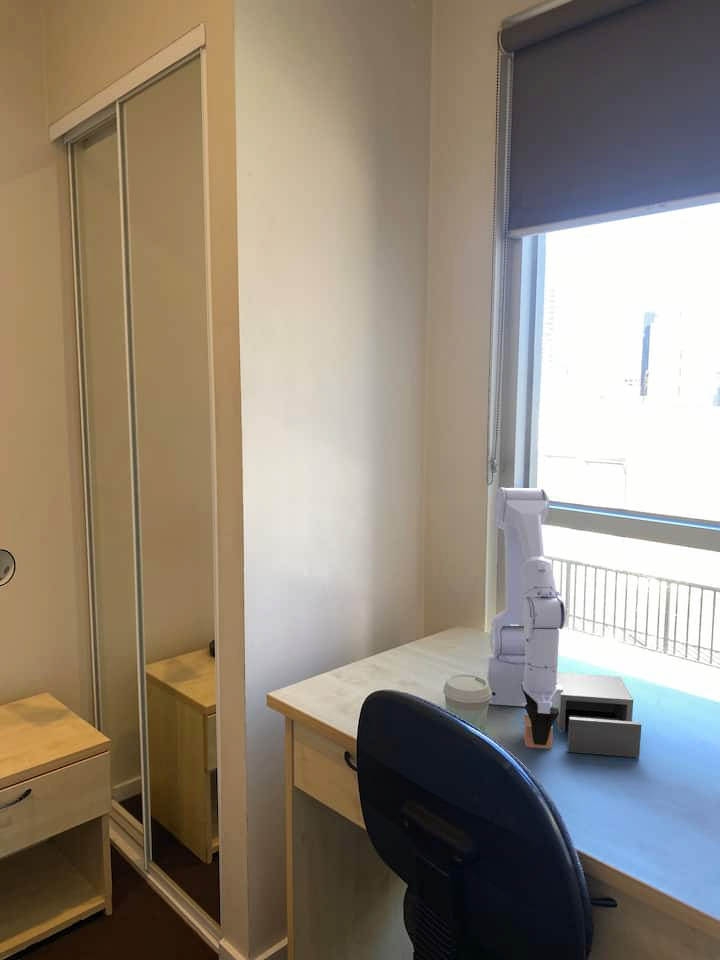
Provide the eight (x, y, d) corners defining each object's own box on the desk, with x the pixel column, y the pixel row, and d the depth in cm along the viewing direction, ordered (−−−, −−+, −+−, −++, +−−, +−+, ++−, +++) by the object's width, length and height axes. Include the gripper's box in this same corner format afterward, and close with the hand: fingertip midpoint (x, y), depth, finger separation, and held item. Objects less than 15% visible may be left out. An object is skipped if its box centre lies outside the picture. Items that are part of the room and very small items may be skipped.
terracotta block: (525, 747, 129) (526, 726, 128) (523, 735, 133) (524, 715, 133) (551, 749, 128) (552, 728, 128) (548, 737, 133) (549, 716, 132)
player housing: (559, 730, 135) (560, 694, 134) (551, 705, 146) (553, 672, 145) (630, 736, 133) (633, 699, 132) (618, 710, 144) (620, 676, 143)
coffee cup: (478, 763, 123) (480, 696, 121) (433, 749, 127) (435, 684, 126) (496, 743, 130) (499, 679, 129) (453, 730, 135) (455, 669, 133)
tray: (568, 751, 127) (570, 719, 126) (560, 723, 138) (561, 693, 137) (639, 757, 125) (641, 724, 124) (625, 728, 136) (627, 698, 135)
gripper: (570, 679, 121) (565, 755, 123) (558, 649, 136) (555, 717, 137) (527, 676, 122) (523, 752, 124) (520, 647, 137) (517, 715, 138)
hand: (537, 734), depth 131 cm, fingers open, 7 cm apart
